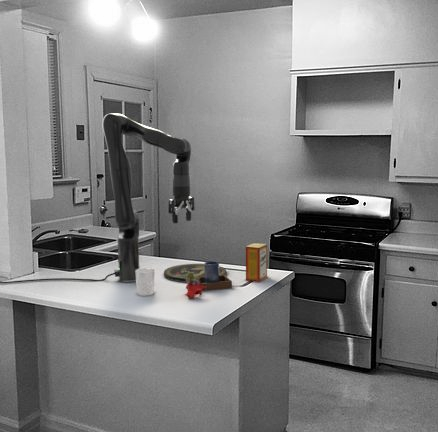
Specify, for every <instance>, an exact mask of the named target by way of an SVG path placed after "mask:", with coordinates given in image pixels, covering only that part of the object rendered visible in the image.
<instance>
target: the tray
mask: <svg viewBox="0 0 438 432" xmlns="http://www.w3.org/2000/svg"><path fill="white" fill-rule="evenodd" d="M195 278H196V277H195ZM198 278H200V281H201V283H200V285H199V286H202V284H203V286H204V287H206V288H203V289H202V291H201V292H203V291H214V290H224V289H225V290H226V289H233V281H232V279H230V278H229V277H228V276H227V275H226V276H225V275H219V282H213V283H205V277H198Z"/></svg>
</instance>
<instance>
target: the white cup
mask: <svg viewBox="0 0 438 432" xmlns="http://www.w3.org/2000/svg"><path fill="white" fill-rule="evenodd" d="M139 268H140V269H137V270H135V273H136V281H135V283H136V292H137V293H136V294H137V295H138V296H141V297H142V296H144V297H147V296H152V295H154V294H155V273H156V272H155V268H151V267H139Z"/></svg>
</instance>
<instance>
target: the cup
mask: <svg viewBox="0 0 438 432" xmlns="http://www.w3.org/2000/svg"><path fill="white" fill-rule="evenodd" d="M204 264H205V283H213V282H219V266H220V262H219V261H214V260H213V261H212V260H211V261H205V262H204Z"/></svg>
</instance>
